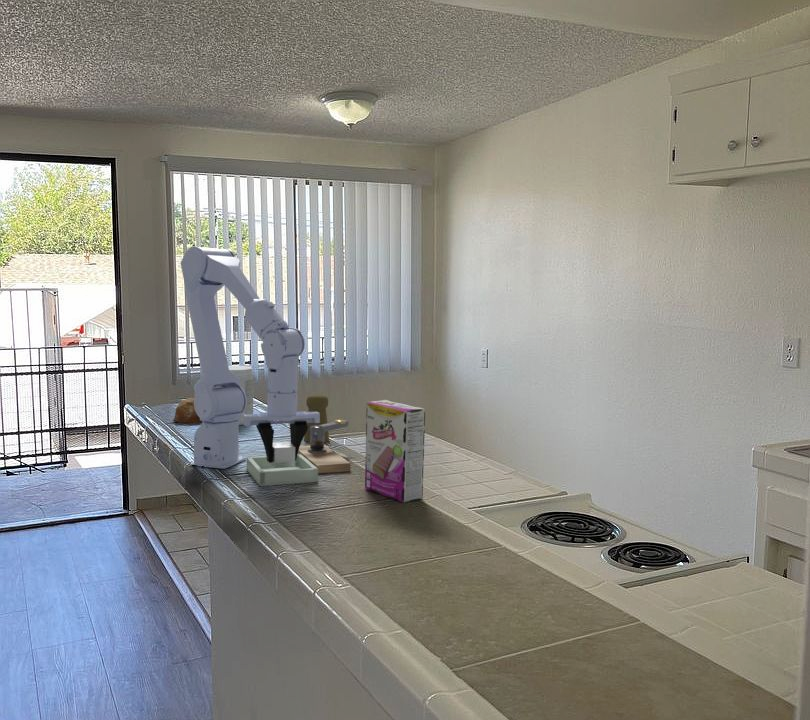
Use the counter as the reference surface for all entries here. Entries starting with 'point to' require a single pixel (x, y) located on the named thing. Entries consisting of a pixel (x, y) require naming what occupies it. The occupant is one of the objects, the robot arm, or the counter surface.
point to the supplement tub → (245, 387)
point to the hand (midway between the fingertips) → (281, 460)
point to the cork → (318, 405)
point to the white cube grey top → (283, 454)
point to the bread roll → (186, 412)
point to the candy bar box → (395, 450)
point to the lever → (319, 430)
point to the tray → (281, 471)
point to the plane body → (325, 459)
